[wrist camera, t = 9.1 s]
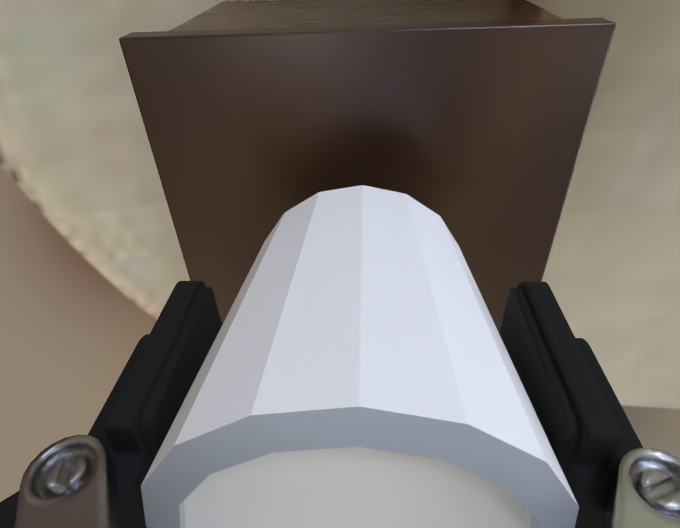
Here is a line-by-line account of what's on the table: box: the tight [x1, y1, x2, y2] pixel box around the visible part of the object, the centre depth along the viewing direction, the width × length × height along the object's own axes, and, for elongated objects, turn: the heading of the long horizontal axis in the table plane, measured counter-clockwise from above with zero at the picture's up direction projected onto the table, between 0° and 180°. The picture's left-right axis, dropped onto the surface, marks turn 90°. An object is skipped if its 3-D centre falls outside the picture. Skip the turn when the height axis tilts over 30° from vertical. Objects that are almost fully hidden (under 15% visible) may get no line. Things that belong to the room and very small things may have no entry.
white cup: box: [141, 185, 579, 528], centre depth 10 cm, size 7×7×7 cm
